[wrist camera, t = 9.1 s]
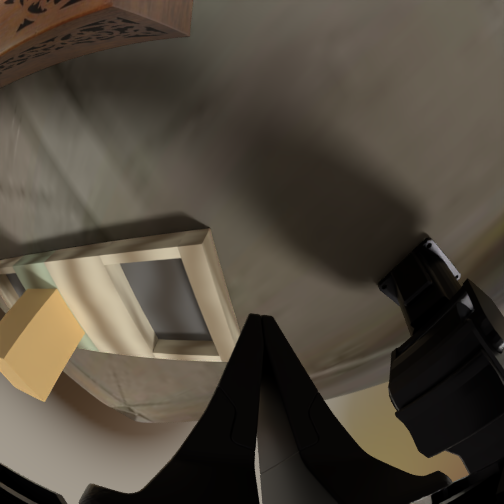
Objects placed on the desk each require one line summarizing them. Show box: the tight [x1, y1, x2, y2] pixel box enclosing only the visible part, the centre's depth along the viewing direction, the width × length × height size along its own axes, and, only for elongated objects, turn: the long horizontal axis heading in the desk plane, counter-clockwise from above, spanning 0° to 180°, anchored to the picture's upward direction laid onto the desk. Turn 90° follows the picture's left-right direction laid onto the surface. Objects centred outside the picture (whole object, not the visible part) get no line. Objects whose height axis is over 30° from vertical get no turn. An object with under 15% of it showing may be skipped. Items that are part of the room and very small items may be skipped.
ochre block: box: [0, 288, 85, 402], centre depth 24 cm, size 7×7×11 cm
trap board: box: [0, 228, 240, 362], centre depth 29 cm, size 37×14×2 cm, turn 100°
